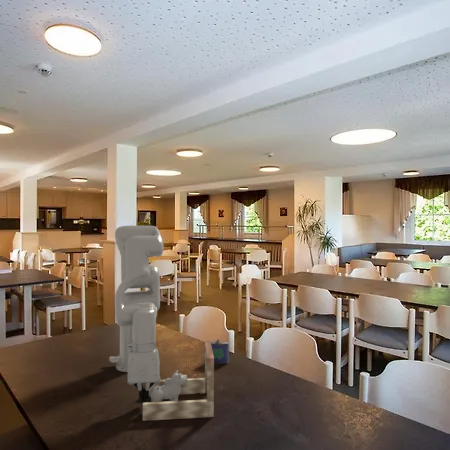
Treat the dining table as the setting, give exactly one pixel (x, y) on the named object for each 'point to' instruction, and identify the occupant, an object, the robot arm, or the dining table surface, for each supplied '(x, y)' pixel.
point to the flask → (220, 352)
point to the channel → (190, 387)
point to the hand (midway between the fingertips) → (144, 400)
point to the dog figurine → (169, 388)
